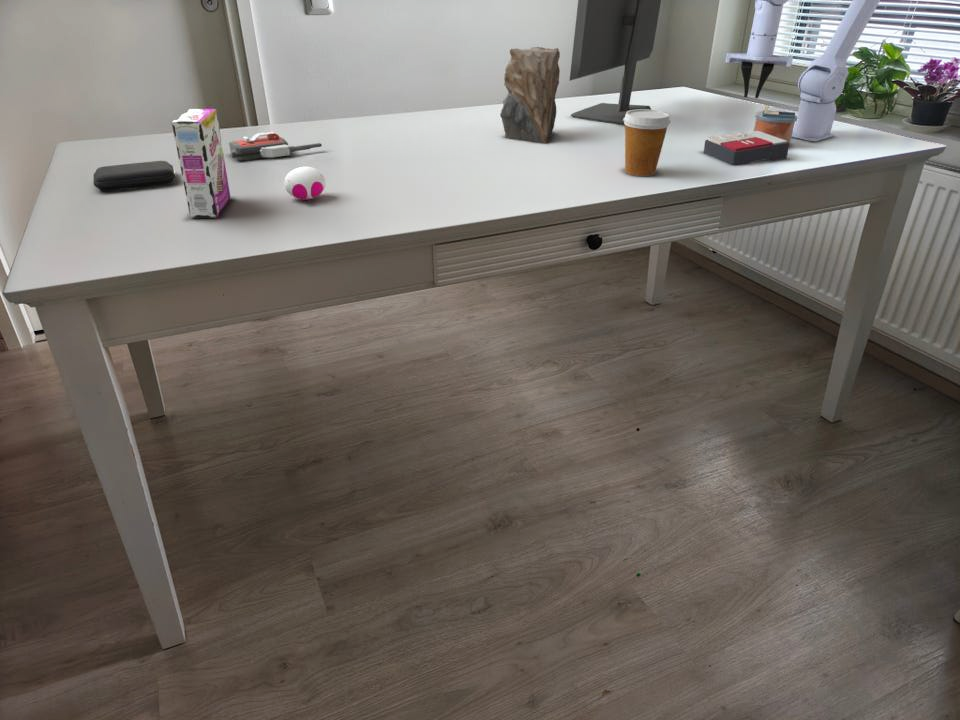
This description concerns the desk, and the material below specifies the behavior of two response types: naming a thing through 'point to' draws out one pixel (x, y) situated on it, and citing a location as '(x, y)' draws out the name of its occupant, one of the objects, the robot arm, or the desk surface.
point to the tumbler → (776, 124)
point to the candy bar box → (202, 162)
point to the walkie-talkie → (264, 147)
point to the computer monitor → (613, 48)
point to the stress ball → (305, 183)
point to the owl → (531, 94)
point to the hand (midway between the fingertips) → (751, 97)
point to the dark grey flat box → (746, 147)
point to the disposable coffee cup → (644, 140)
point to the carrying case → (134, 175)
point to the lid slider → (770, 111)
